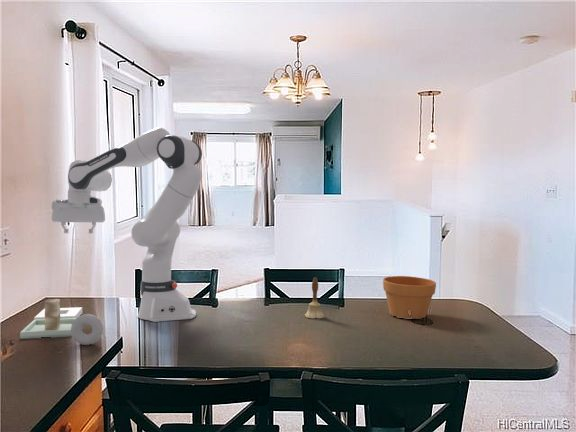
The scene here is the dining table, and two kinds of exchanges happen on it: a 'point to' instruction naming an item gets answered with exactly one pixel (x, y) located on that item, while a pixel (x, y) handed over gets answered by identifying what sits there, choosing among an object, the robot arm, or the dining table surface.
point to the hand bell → (314, 303)
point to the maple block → (52, 314)
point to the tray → (38, 330)
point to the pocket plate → (63, 313)
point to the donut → (78, 333)
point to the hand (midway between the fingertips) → (78, 233)
